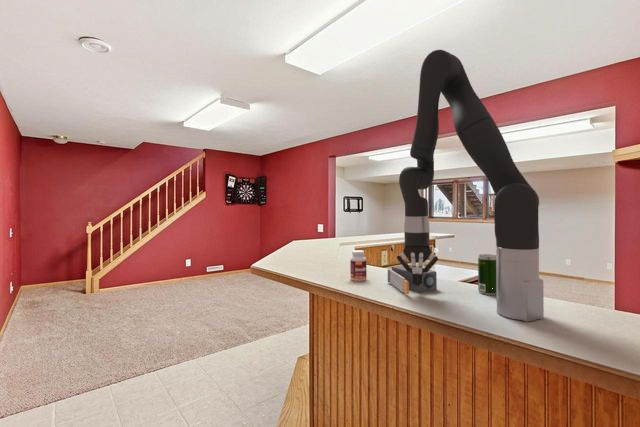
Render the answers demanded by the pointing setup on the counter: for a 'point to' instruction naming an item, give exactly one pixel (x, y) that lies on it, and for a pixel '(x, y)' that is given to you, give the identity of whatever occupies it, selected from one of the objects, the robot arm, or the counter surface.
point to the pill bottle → (358, 266)
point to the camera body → (427, 279)
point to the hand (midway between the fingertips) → (417, 285)
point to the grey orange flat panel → (398, 281)
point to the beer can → (487, 274)
